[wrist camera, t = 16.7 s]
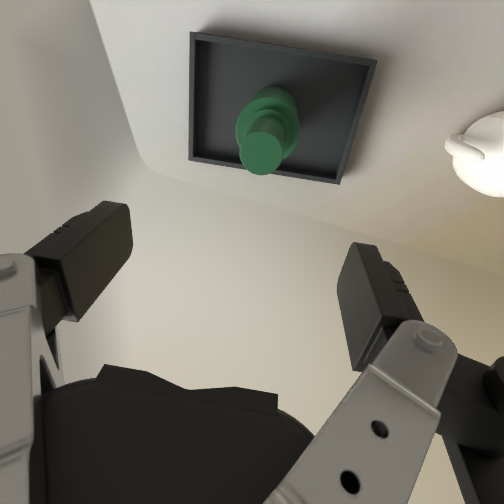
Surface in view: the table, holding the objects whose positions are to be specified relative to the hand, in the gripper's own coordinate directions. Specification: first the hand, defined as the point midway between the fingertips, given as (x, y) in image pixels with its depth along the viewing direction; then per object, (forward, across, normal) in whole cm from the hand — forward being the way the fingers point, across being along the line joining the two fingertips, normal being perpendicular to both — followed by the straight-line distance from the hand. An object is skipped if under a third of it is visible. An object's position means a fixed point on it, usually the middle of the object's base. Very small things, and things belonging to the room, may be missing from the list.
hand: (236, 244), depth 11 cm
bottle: (+30, 0, 0) cm, 30 cm away
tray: (+30, 0, 0) cm, 30 cm away
